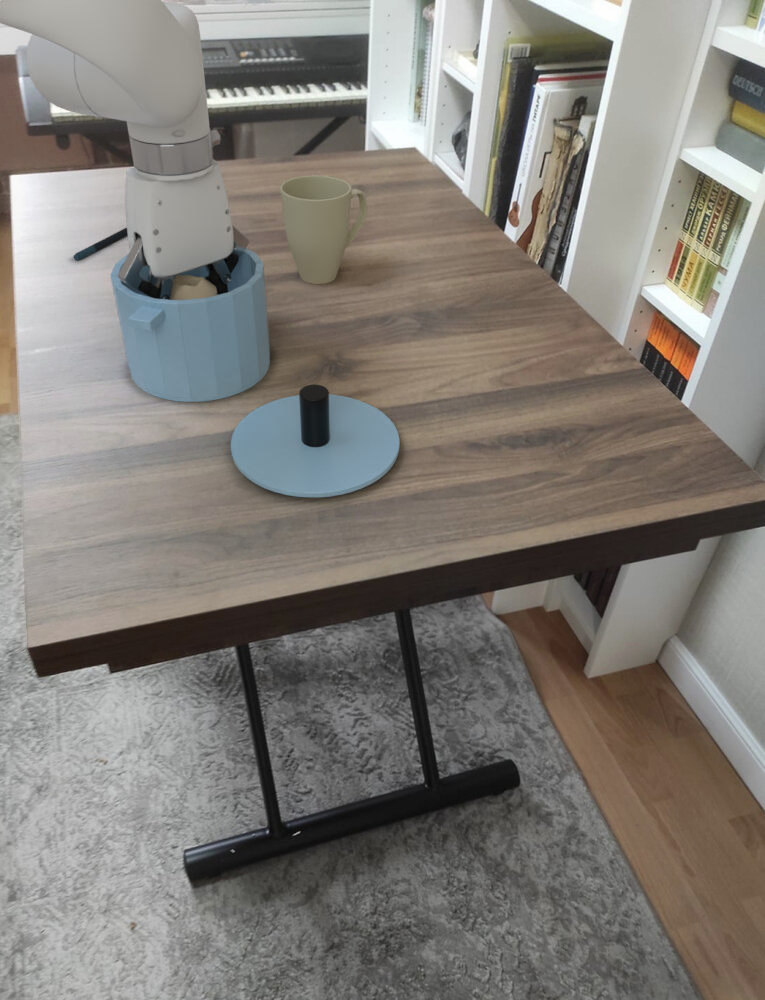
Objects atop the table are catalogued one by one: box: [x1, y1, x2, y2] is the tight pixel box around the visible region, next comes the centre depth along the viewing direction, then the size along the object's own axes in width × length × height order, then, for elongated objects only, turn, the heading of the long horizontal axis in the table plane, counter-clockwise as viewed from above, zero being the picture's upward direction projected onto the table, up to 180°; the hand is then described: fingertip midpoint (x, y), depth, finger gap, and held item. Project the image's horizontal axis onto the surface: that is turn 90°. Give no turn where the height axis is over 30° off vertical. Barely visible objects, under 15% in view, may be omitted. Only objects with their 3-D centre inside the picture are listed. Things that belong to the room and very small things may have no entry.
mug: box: [279, 174, 368, 285], centre depth 110 cm, size 11×10×12 cm
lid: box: [230, 383, 401, 498], centre depth 81 cm, size 17×17×7 cm
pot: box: [110, 247, 271, 403], centre depth 91 cm, size 16×21×12 cm
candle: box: [170, 275, 217, 300], centre depth 91 cm, size 6×6×10 cm
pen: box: [73, 227, 128, 262], centre depth 120 cm, size 1×16×1 cm, turn 153°
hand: (194, 321), depth 91 cm, fingers closed on candle, 5 cm apart
